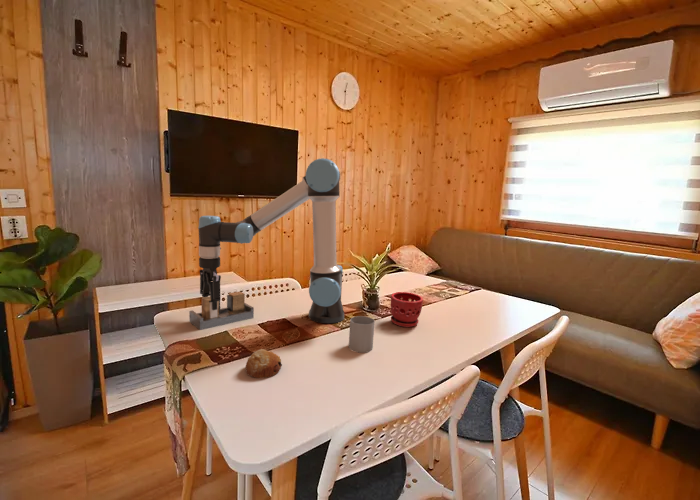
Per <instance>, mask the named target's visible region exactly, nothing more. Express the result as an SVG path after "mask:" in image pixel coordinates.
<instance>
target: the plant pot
mask: <svg viewBox="0 0 700 500" xmlns="http://www.w3.org/2000/svg"><path fill="white" fill-rule="evenodd" d="M423 301H424V299H423V297H422V296H421V295H418V294H416V293H412V292H408V291H399V292H397V291H396V292H394V293H392V294H391V295H390V311H391V317H390V320H391V322H392V324H394V325H396V326H399V327H405V328H412V327H416V326H417V325H418V324H419V317H420V315H421V312H422V308H423Z"/></svg>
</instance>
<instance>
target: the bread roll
mask: <svg viewBox="0 0 700 500" xmlns="http://www.w3.org/2000/svg"><path fill="white" fill-rule="evenodd" d="M282 366H283V364H282V358H280V356H279V355H278V354H276V353H275V352H273V351H269V350H266V349H263V348H261V349H258V350H255V351H254V352H253V353H252V354H251V355H250V356H249V357H248V359H247V361H246V363H245V372H246V374H247V375H248V376H249V377H251V378H254V379H255V378H256V379H262V378H271V377H274V376H275V375H277V374H278V373H279V372H280V371H281V369H282V368H281V367H282Z"/></svg>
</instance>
